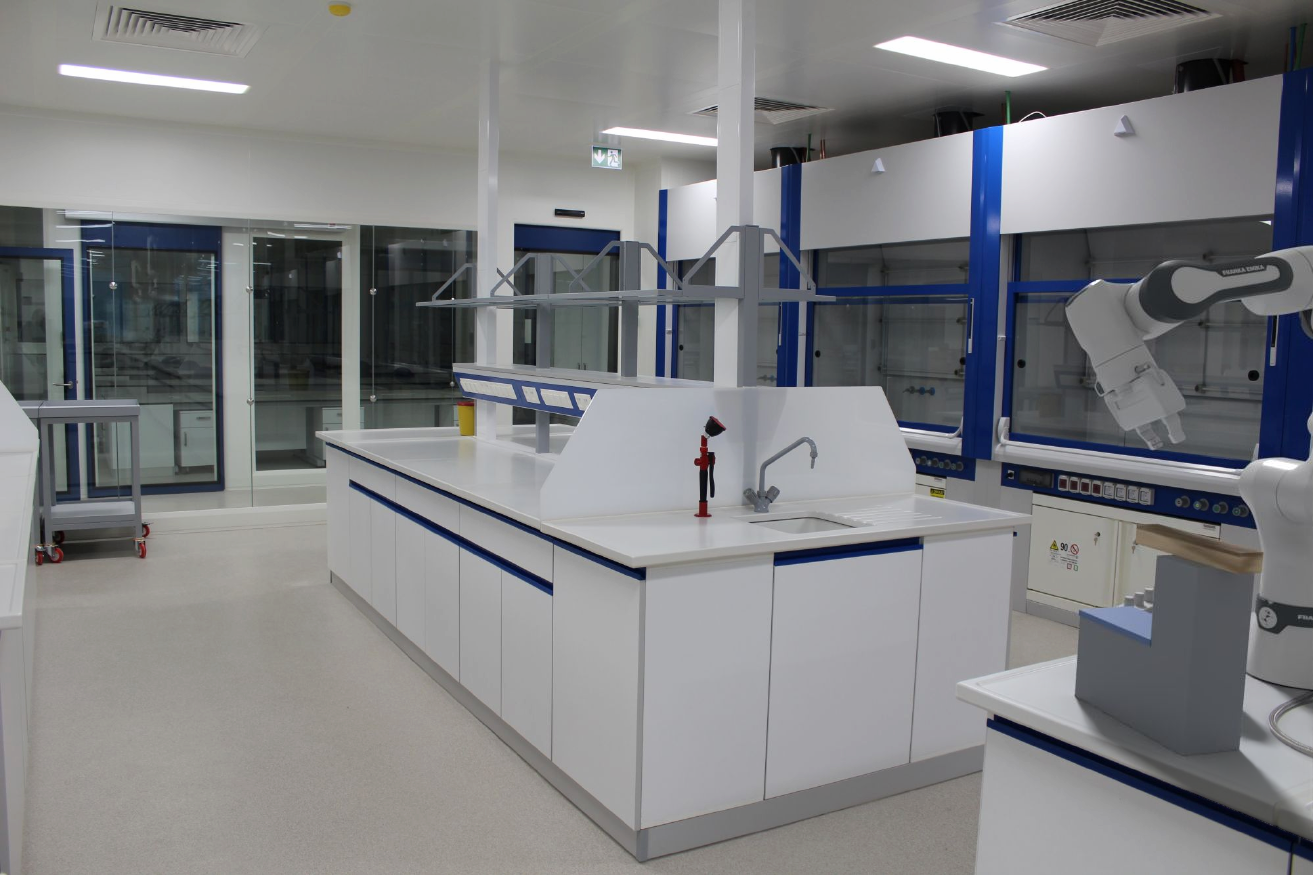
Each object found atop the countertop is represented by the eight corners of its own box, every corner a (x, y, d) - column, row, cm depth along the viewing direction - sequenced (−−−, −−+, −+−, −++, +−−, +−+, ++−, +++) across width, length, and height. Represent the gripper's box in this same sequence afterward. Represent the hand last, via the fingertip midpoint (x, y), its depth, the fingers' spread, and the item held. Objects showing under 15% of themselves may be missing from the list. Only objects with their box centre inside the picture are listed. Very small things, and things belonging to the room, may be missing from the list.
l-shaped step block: (1125, 690, 170) (1136, 531, 166) (1240, 749, 146) (1256, 564, 143) (1073, 695, 167) (1083, 533, 164) (1182, 755, 144) (1197, 568, 141)
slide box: (1156, 542, 158) (1157, 523, 158) (1261, 572, 139) (1263, 551, 138) (1135, 543, 157) (1136, 524, 157) (1238, 574, 138) (1240, 553, 137)
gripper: (1169, 350, 156) (1213, 428, 154) (1123, 374, 176) (1162, 443, 174) (1132, 368, 157) (1176, 446, 154) (1091, 390, 177) (1129, 459, 175)
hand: (1168, 445), depth 164 cm, fingers open, 8 cm apart
